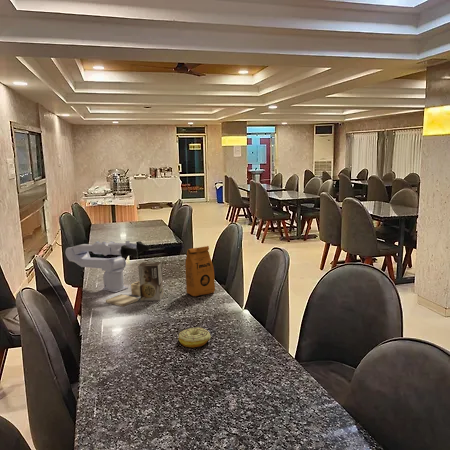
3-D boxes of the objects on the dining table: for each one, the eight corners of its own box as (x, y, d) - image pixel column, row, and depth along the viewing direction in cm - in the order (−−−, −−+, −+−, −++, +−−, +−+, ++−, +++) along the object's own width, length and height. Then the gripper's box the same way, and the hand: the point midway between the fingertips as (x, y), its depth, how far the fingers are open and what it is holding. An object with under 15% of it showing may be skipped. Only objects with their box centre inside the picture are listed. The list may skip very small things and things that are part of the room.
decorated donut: (216, 341, 140) (216, 330, 139) (193, 352, 132) (193, 341, 131) (195, 332, 147) (195, 322, 146) (172, 343, 139) (172, 332, 138)
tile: (105, 302, 180) (105, 300, 180) (121, 296, 187) (121, 294, 187) (123, 306, 174) (123, 304, 174) (138, 300, 181) (138, 298, 181)
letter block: (131, 294, 190) (130, 283, 189) (139, 291, 194) (138, 280, 193) (139, 296, 187) (138, 285, 186) (147, 293, 191) (146, 282, 191)
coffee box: (163, 296, 186) (161, 261, 184) (160, 300, 180) (158, 265, 177) (144, 295, 187) (142, 261, 185) (140, 300, 181) (137, 265, 178)
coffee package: (217, 294, 187) (216, 247, 183) (192, 299, 181) (190, 250, 177) (208, 288, 195) (206, 243, 192) (184, 292, 190) (182, 246, 186)
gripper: (108, 243, 185) (129, 244, 177) (131, 237, 197) (152, 238, 189) (110, 258, 186) (131, 260, 178) (133, 252, 198) (154, 253, 190)
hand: (142, 249), depth 184 cm, fingers open, 7 cm apart
